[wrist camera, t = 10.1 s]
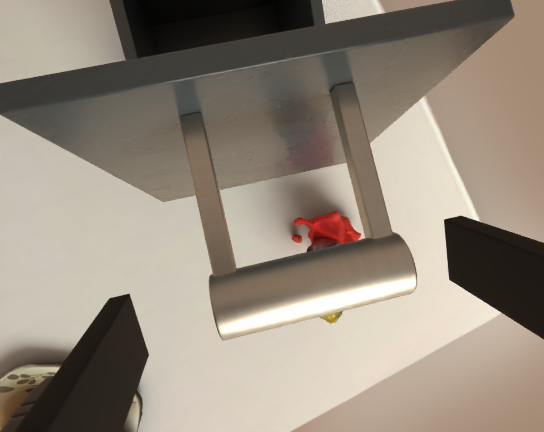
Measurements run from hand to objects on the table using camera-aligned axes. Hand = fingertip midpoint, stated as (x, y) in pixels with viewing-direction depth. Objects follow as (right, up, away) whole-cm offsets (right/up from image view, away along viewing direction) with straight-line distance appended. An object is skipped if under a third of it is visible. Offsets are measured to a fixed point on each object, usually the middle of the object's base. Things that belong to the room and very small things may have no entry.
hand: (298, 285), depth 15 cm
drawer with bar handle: (-2, +7, +3) cm, 8 cm away
